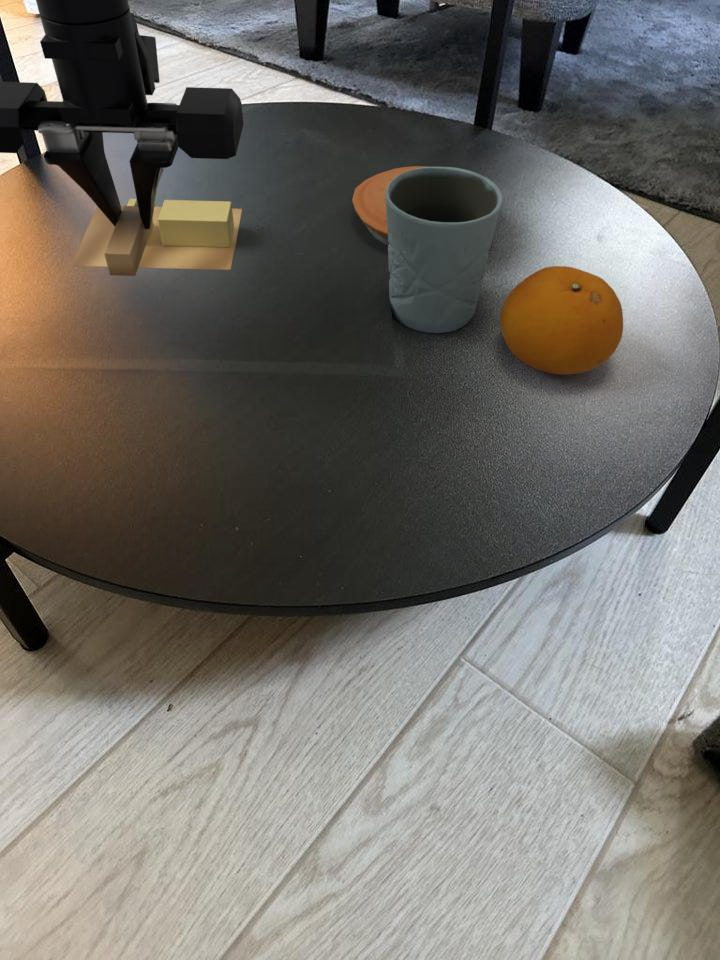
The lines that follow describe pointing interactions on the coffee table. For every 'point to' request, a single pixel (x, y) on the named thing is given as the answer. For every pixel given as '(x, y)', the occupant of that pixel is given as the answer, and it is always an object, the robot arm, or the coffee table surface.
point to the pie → (376, 201)
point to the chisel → (127, 241)
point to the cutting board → (155, 248)
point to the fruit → (562, 320)
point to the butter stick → (196, 223)
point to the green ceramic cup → (439, 244)
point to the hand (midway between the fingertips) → (134, 226)
